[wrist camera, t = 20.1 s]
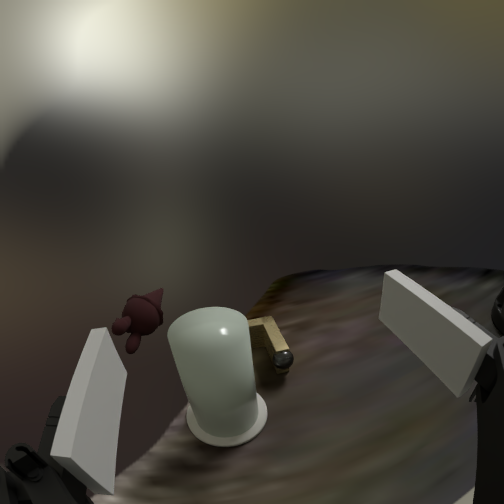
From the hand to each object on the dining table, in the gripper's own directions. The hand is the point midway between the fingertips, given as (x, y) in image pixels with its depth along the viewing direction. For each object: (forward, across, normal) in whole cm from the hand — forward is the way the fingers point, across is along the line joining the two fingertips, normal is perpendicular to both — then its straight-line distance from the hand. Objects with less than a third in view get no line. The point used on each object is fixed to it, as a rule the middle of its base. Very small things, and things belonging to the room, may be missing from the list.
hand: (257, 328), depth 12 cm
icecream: (+31, -14, -20) cm, 39 cm away
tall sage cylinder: (+10, -3, -19) cm, 21 cm away
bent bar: (+19, +2, -20) cm, 27 cm away
